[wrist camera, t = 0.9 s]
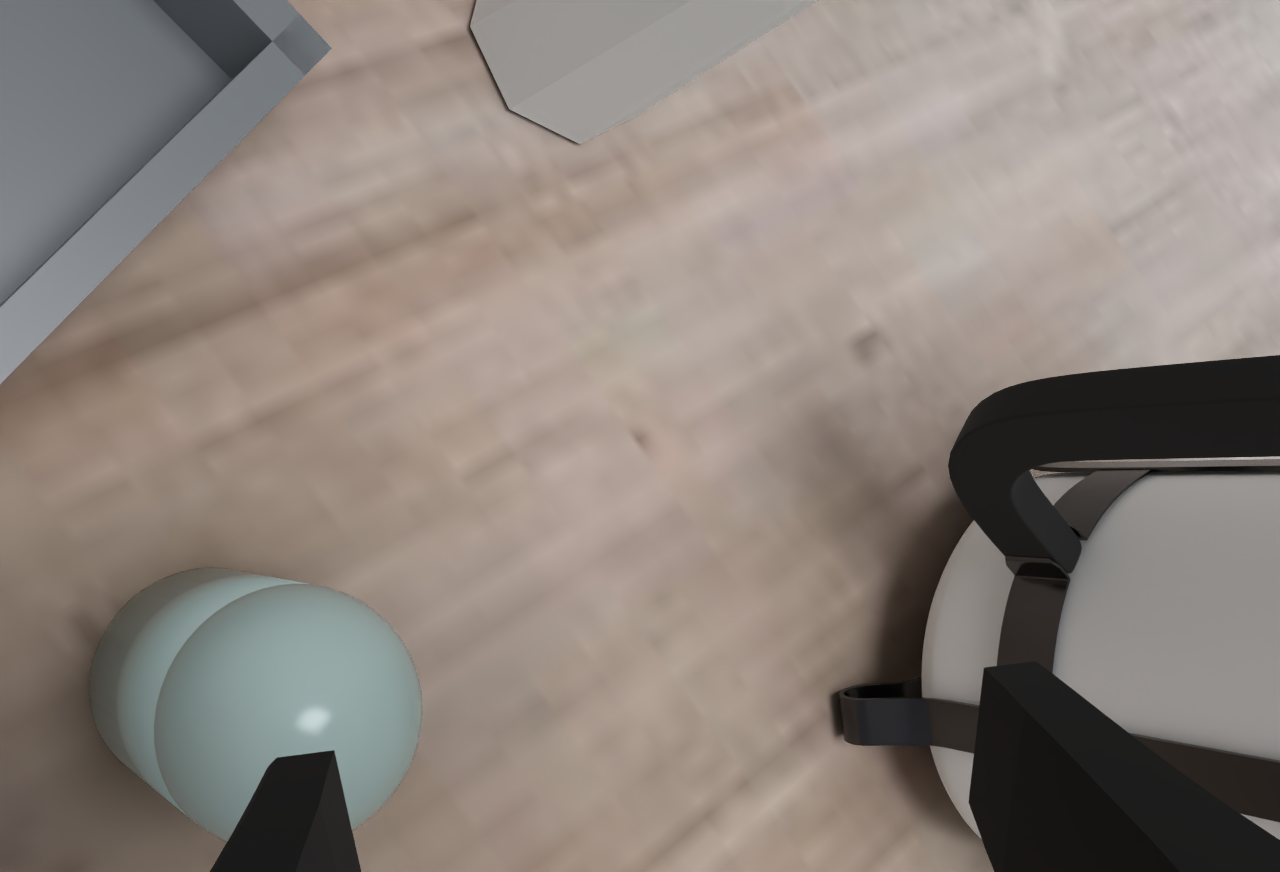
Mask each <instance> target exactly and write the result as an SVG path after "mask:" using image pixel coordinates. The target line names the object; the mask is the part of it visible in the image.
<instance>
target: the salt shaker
mask: <svg viewBox="0 0 1280 872" xmlns="http://www.w3.org/2000/svg"><path fill="white" fill-rule="evenodd" d="M816 1H818V0H477V1H476V5H475V9H474V13H473V17H472V20H471V24H470V27H471V30H472V32H473V34H474V36H475V38H476V41H477V43H478V45H479V47H480V49H481V51H482V53H483V55H484V57H485V60H486V62H487V64H488V66H489V68H490V70H491V72H492V74H493V77H494V79H495V81H496V83H497V85H498V87H499V89H500V91H501V93H502V96H503V98H504V100H505V102H506V104H507V106H508V108H509V109H510V110H512V111H514V112H516V113H518V114H520V115H522V116H524V117H526V118H528V119H530V120H532V121H534V122H536V123H538V124H540V125H542V126H544V127H546V128H548V129H550V130H552V131H554V132H556V133H558V134H560V135H562V136H564V137H566V138H568V139H570V140H572V141H574V142H576V143H578V144H582V143H584V142H586V141H588V140H590V139H592V138H594V137H596V136H598V135H600V134H602V133H604V132H606V131H608V130H610V129H612V128H614V127H616V126H618V125H620V124H622V123H624V122H626V121H628V120H630V119H632V118H634V117H636V116H638V115H640V114H641V113H643V112H645V111H646V110H648V109H649V108H651V107H652V106H654V105H655V104H657V103H659V102H660V101H662V100H663V99H665V98H666V97H668V96H670V95H671V94H673V93H674V92H676V91H677V90H679V89H680V88H682V87H684V86H685V85H687V84H688V83H690V82H691V81H693V80H695V79H696V78H698V77H699V76H701V75H702V74H704V73H705V72H707V71H709V70H710V69H712V68H713V67H715V66H716V65H718V64H720V63H721V62H723V61H724V60H726V59H727V58H729V57H730V56H732V55H734V54H735V53H737V52H738V51H740V50H741V49H743V48H745V47H746V46H748V45H749V44H751V43H752V42H754V41H756V40H757V39H759V38H760V37H762V36H763V35H765V34H766V33H768V32H770V31H771V30H773V29H774V28H776V27H777V26H779V25H781V24H782V23H784V22H785V21H787V20H788V19H790V18H791V17H793V16H795V15H796V14H798V13H799V12H801V11H802V10H804V9H806V8H807V7H809V6H810V5H812V4H813V3H815V2H816Z"/></svg>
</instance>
